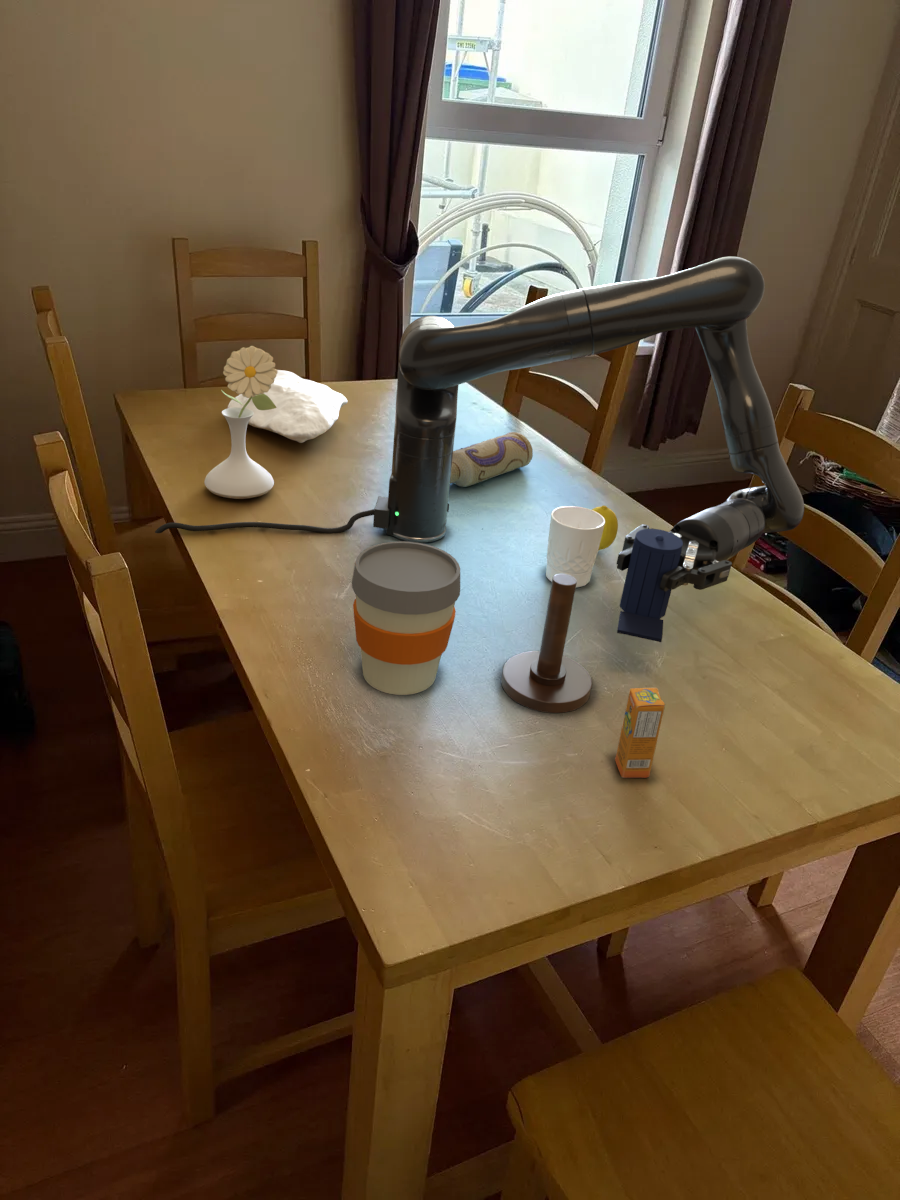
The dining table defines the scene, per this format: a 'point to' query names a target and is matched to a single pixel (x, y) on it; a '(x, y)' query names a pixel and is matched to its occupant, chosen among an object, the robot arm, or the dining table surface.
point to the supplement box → (639, 733)
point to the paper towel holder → (550, 661)
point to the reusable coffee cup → (403, 613)
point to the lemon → (607, 526)
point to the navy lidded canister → (648, 583)
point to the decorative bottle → (490, 459)
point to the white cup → (573, 542)
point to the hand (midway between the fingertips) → (641, 572)
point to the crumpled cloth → (296, 407)
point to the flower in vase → (244, 426)
